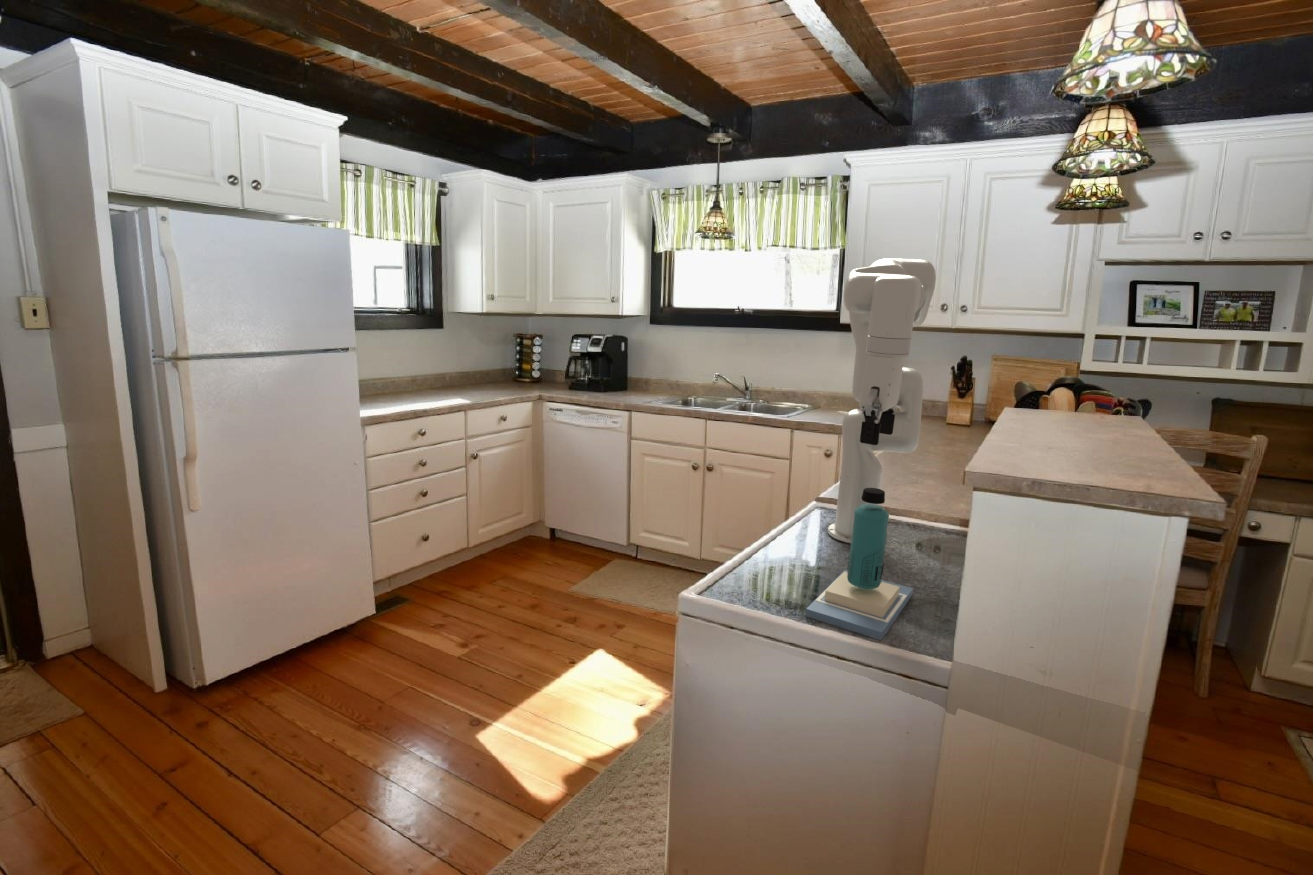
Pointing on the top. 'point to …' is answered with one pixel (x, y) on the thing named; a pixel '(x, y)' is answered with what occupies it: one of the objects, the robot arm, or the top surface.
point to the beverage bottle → (868, 541)
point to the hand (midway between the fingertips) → (876, 438)
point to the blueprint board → (856, 618)
